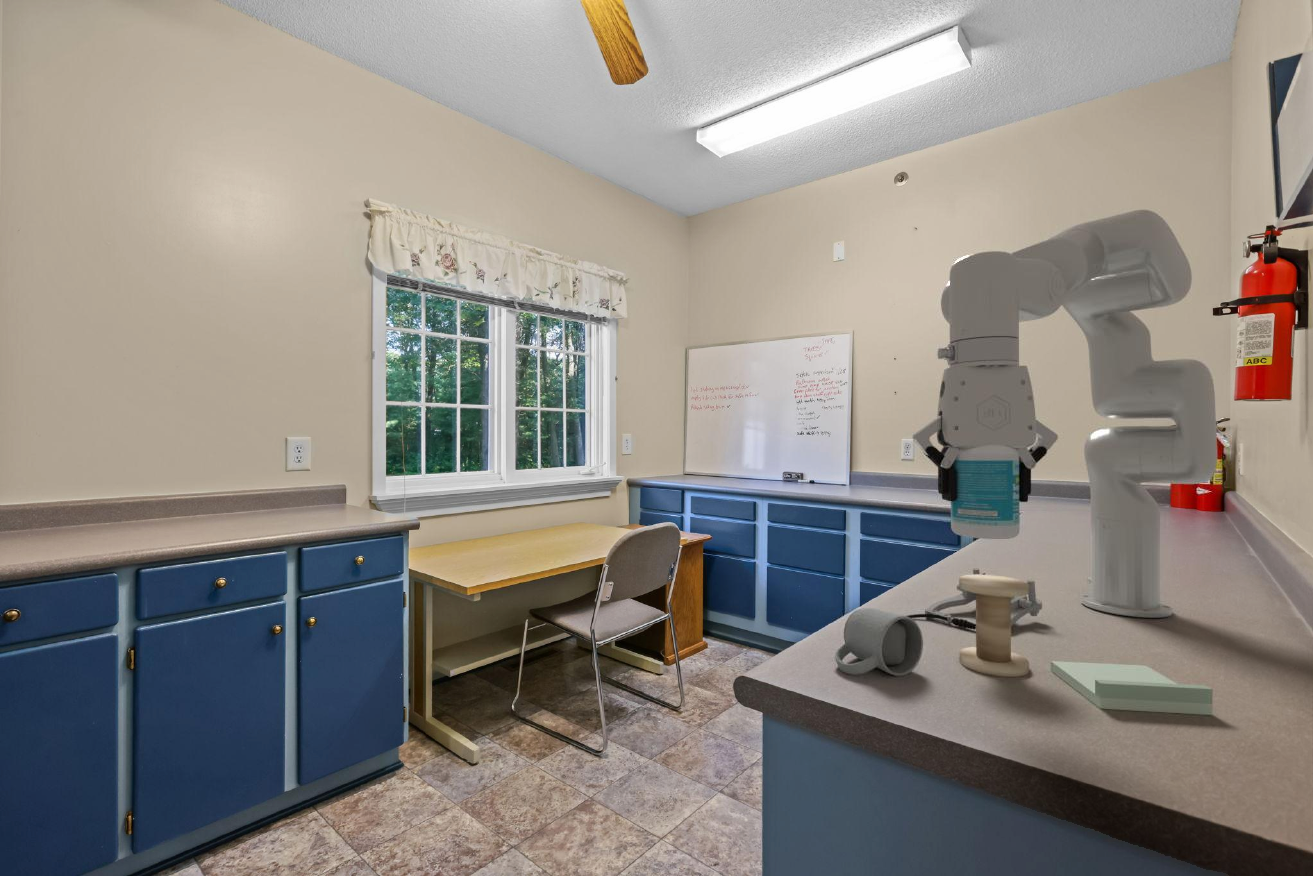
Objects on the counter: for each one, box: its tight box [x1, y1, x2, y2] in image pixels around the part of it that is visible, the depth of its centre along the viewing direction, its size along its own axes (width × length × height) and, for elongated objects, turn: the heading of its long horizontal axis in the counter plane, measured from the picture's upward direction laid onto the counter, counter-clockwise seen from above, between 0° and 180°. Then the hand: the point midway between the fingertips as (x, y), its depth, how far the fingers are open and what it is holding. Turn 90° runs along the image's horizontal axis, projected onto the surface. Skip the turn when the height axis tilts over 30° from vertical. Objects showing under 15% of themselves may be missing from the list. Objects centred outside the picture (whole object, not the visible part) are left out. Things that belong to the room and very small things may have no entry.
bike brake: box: [906, 567, 1043, 631], centre depth 98 cm, size 14×7×20 cm
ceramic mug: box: [834, 607, 924, 677], centre depth 79 cm, size 10×8×7 cm
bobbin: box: [958, 573, 1030, 678], centre depth 79 cm, size 8×8×11 cm
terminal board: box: [1050, 660, 1214, 716], centre depth 71 cm, size 11×11×3 cm
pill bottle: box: [950, 445, 1021, 540], centre depth 74 cm, size 8×7×14 cm
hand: (983, 499), depth 74 cm, fingers closed on pill bottle, 7 cm apart
